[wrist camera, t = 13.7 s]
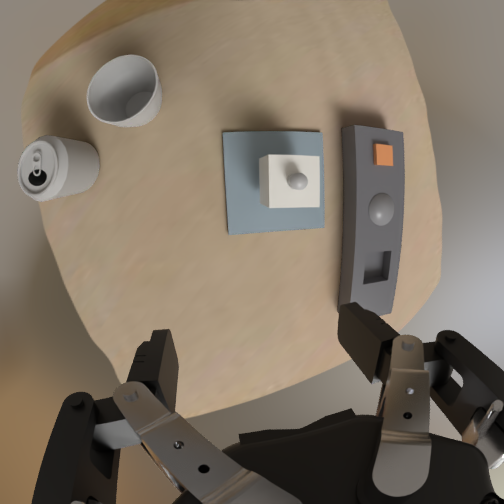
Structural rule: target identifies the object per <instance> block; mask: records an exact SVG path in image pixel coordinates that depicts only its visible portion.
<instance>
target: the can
mask: <svg viewBox="0 0 504 504" xmlns="http://www.w3.org/2000/svg"><path fill="white" fill-rule="evenodd" d="M99 168H100V163H99V157H98V154H97V151H96V150H95V149H94V147H93V146H92V145H90V144H89V143H87V142H82V141H78V140H73V139H67V138H62V137H57V136H50V135H45V136H42V137H39V138H38V139H36V140H35V141H34V142H32V143H31V144H29V145H28V146H27V147H26V148H25V150H24V151H23V153H22V155H21V157H20V160H19V163H18V169H17V174H18V181H19V184H20V187H21V189H22V190H23V192H24V193H25V194H27V195H28V196H30V197H31V198H32V199H34V200H37V201H41V202H42V201H47V200H51V199H55V198H60V197H64V196H69V195H73V194H78V193H82V192H84V191H86V190H88V189H89V188H90V187H91V186H92V185H93V184H94V182H95V180H96V178H97V176H98V173H99Z"/></svg>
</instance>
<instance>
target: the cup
mask: <svg viewBox="0 0 504 504" xmlns="http://www.w3.org/2000/svg"><path fill="white" fill-rule="evenodd" d="M87 104H88V108H89V110H90V112H91V113H92V115H93V116H94V117H95V118H97V119H98V120H100V121H102V122H105V123H108V124H112V125H116V126H120V127H138V126H142V125H144V124H146V123H148V122H150V121H151V120H152V119H153V118H154V117H155V116H156V115H157V113H158V112H159V110H160V107H161V104H162V87H161V83H160V80H159V77H158V74H157V71H156V69H155V67H154V65H153V64H152V63H151V62H150V61H149V60H148V59H146V58H144V57H142V56H138V55H123V56H120V57H117V58H114V59H112V60H110V61H109V62H107V63H106V64H104V65H103V66H102V67H101V68H100V69H99V70H98V71H97V72H96V74H95V75H94V77H93V78H92V80H91V82H90V84H89V87H88V91H87Z"/></svg>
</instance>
